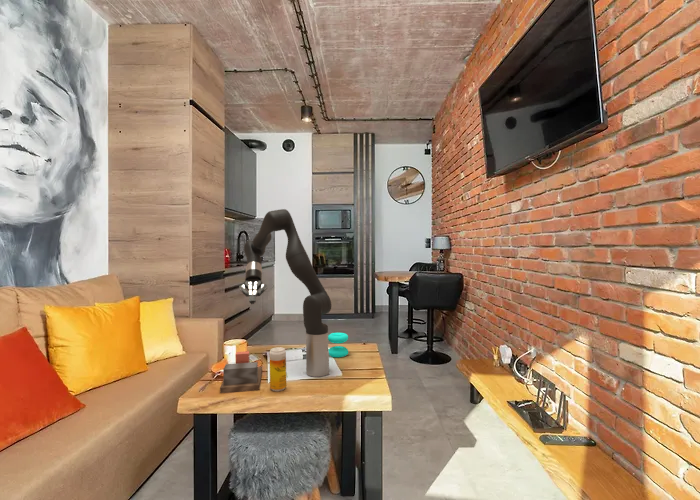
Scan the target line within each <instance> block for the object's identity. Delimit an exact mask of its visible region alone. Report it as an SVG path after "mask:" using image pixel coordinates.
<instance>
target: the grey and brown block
mask: <svg viewBox="0 0 700 500" xmlns="http://www.w3.org/2000/svg"><path fill="white" fill-rule="evenodd" d="M262 374H263V366H259V364H258V362H257V361H254V362H250V363H236V362H235V363H226V364H225V365H224V367H223V380H222V382H221V385H220V387H219V394H226V393H240V392H250V391H251V392H252V391H253V392H254V391H260V389H261V382H262Z"/></svg>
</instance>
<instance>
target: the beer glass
mask: <svg viewBox="0 0 700 500" xmlns="http://www.w3.org/2000/svg"><path fill="white" fill-rule="evenodd" d="M268 357H269V389H271V391H272V392H282V391H284V390H285V389H286V388H287V351H286V348H284V347H280V346H279V347H278V346H277V347H273V348H270V351H269V356H268Z"/></svg>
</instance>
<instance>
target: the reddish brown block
mask: <svg viewBox="0 0 700 500" xmlns="http://www.w3.org/2000/svg"><path fill="white" fill-rule="evenodd" d="M236 363H251V362H250V351H249V350H248V351H236V353H235V364H236Z"/></svg>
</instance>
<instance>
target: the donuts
mask: <svg viewBox="0 0 700 500" xmlns="http://www.w3.org/2000/svg"><path fill="white" fill-rule="evenodd" d="M348 340H349V334H347V333H345V332H331V333H328V342H330V343H333V344H343V343H345V342H347V341H348ZM328 351H329V357H332V358H344V357H346V356H348V354H349V349H348V348H347V347H346V346H342V345H335V346H332V347H329V348H328Z"/></svg>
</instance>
